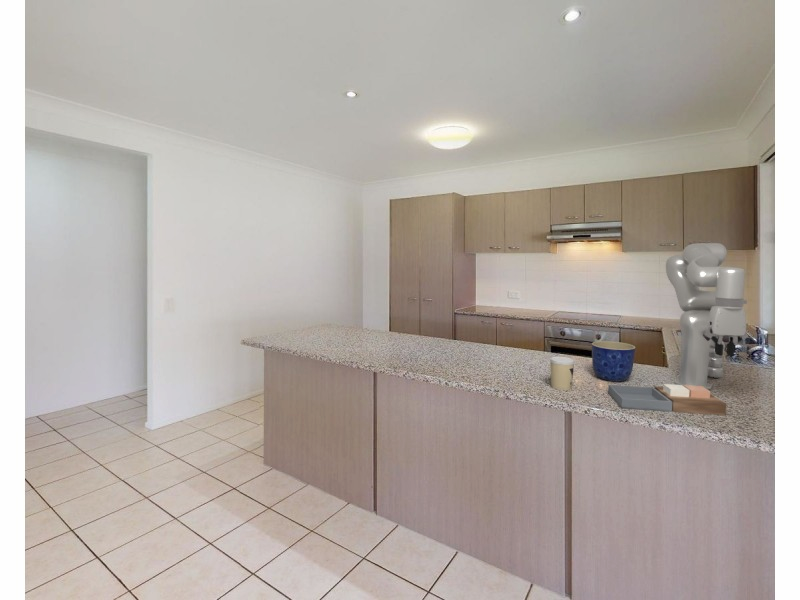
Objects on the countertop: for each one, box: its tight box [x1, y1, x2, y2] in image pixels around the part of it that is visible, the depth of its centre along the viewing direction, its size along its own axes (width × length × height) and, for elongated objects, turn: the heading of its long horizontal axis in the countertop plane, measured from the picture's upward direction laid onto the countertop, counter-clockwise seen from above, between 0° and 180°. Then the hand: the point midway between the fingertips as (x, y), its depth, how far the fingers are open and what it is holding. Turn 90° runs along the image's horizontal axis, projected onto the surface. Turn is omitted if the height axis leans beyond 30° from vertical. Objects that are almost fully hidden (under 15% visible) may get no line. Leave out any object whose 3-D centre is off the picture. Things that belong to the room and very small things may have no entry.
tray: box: [607, 384, 672, 412], centre depth 149 cm, size 16×16×4 cm
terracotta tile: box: [683, 385, 711, 398], centre depth 145 cm, size 6×6×2 cm
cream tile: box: [662, 383, 690, 397], centre depth 146 cm, size 6×6×2 cm
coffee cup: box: [549, 356, 575, 391], centre depth 166 cm, size 9×9×12 cm
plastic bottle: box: [707, 334, 726, 379], centre depth 178 cm, size 6×7×20 cm
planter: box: [591, 340, 636, 382], centre depth 177 cm, size 17×17×15 cm
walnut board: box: [653, 385, 727, 416], centre depth 145 cm, size 16×16×4 cm
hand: (724, 354), depth 142 cm, fingers open, 2 cm apart
